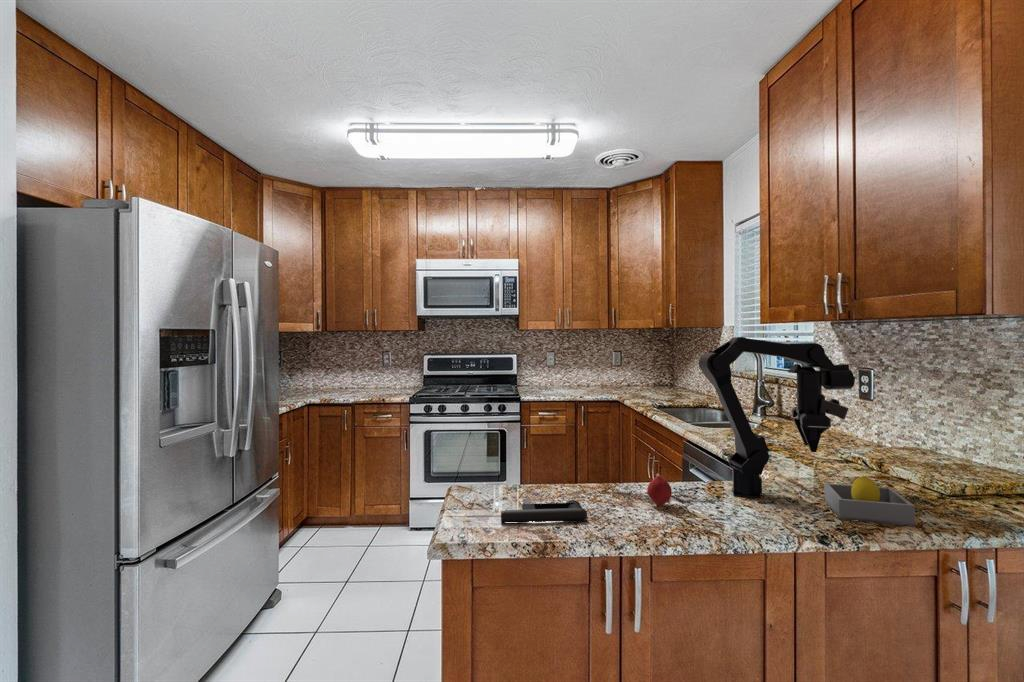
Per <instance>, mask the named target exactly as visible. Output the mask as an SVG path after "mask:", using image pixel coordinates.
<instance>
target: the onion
mask: <svg viewBox="0 0 1024 682" xmlns="http://www.w3.org/2000/svg"><path fill="white" fill-rule="evenodd" d="M655 476H656V477H655V478H653V479H651V480H650V482H649V483H648V485H647V490H646V493H647V496H648V497H649V499H650V500H651V501H652V502H653V503H654V504H655V505H656V506H657V505H658V506H657V507H662V506H663V505H665V504H667V502H669V501H670V500H671V498H672V493H673V491H672V487H671V485H670V483H669V482H668V480H666V479H665V478H663V477H662V475H660V474H659V473H656V475H655Z"/></svg>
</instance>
